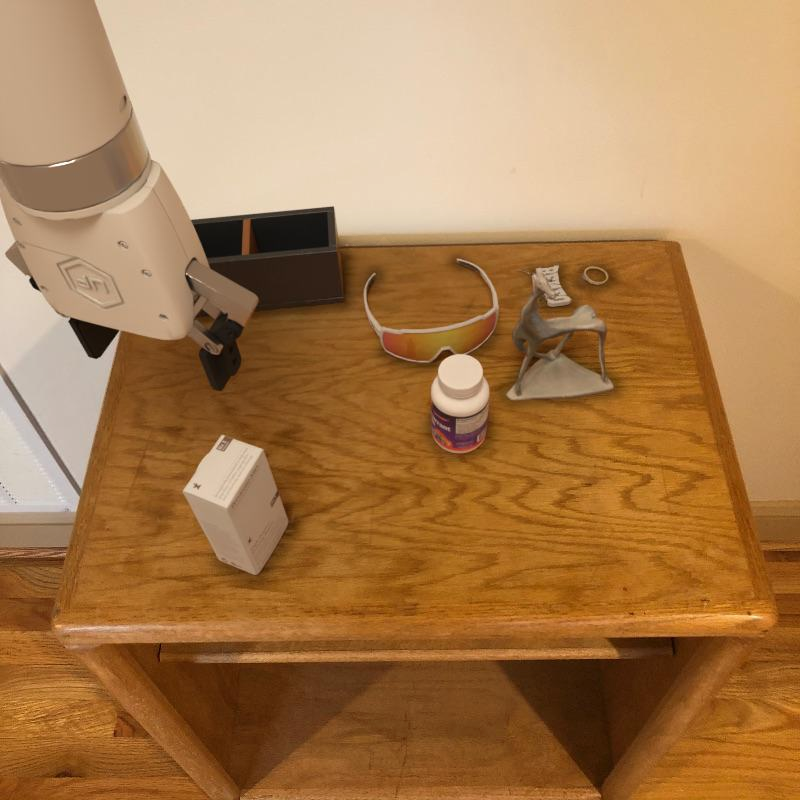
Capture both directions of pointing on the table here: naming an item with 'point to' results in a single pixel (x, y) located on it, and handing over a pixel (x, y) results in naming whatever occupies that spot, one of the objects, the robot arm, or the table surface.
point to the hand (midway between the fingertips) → (165, 359)
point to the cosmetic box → (237, 504)
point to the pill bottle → (459, 404)
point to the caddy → (277, 255)
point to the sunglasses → (437, 332)
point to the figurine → (555, 351)
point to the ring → (594, 281)
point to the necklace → (553, 286)
